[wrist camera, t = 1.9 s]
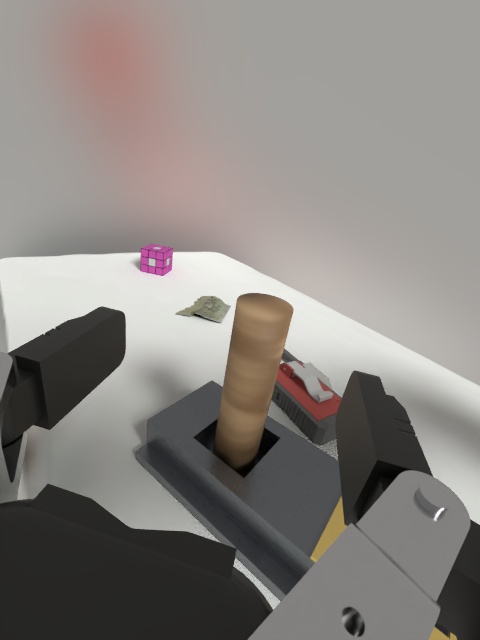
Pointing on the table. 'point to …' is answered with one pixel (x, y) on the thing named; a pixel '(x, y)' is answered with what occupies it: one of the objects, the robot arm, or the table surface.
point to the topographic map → (207, 308)
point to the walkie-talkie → (307, 399)
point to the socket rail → (251, 491)
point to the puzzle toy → (156, 259)
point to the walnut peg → (250, 377)
